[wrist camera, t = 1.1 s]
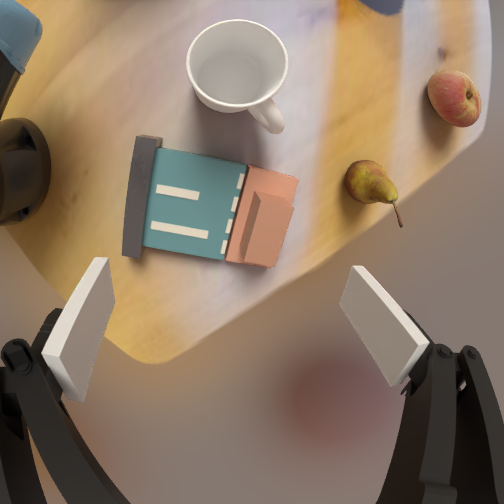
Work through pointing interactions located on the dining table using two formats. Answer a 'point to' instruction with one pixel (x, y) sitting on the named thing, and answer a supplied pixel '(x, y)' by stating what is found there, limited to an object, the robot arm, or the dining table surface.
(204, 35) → the mug
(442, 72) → the apple
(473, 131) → the dining table surface
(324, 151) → the dining table surface
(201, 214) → the striped teal tile
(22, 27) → the robot arm
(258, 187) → the stub
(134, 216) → the grey end rail
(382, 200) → the fruit
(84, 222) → the dining table surface
